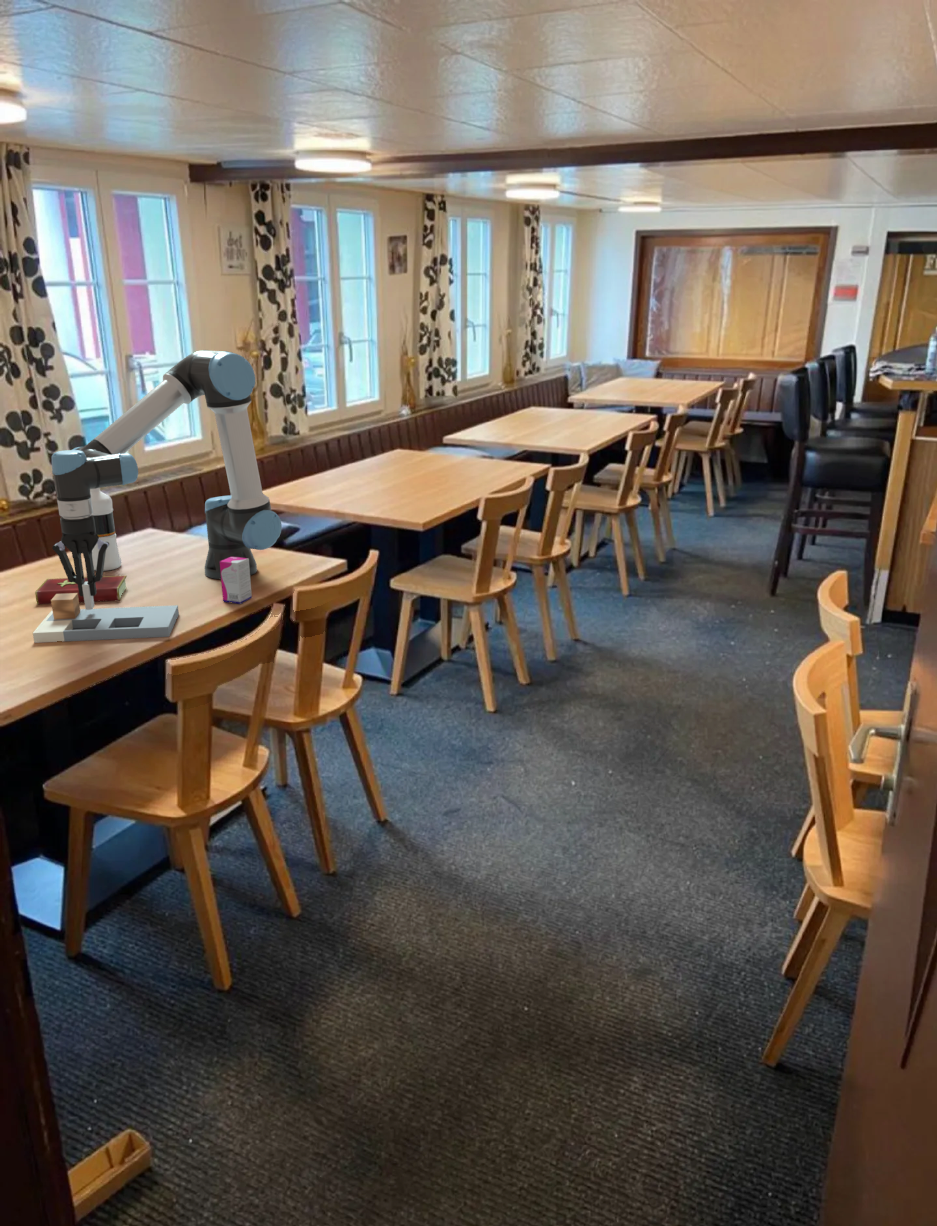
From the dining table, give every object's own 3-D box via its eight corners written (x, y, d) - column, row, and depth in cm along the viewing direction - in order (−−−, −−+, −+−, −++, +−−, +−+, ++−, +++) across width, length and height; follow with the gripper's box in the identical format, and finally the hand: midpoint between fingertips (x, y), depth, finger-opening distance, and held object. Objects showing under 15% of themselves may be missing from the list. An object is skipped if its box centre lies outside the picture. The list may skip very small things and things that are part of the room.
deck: (178, 614, 227) (177, 605, 226) (169, 636, 212) (167, 626, 211) (53, 619, 222) (51, 610, 221) (34, 642, 207) (32, 632, 206)
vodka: (119, 570, 262) (106, 471, 252) (86, 572, 260) (72, 472, 250) (123, 562, 271) (111, 465, 260) (91, 563, 269) (78, 466, 258)
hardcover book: (119, 602, 237) (118, 587, 235) (37, 606, 233) (34, 591, 232) (128, 588, 248) (126, 574, 246) (49, 592, 244) (46, 577, 243)
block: (80, 611, 221) (77, 593, 219) (75, 618, 216) (72, 599, 214) (59, 612, 220) (56, 593, 218) (53, 619, 215) (50, 600, 213)
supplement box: (252, 597, 240) (249, 557, 236) (240, 604, 235) (237, 563, 231) (234, 595, 242) (231, 555, 238) (222, 601, 237) (218, 561, 233)
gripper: (43, 520, 206) (58, 614, 214) (101, 518, 208) (114, 611, 216) (52, 512, 213) (66, 604, 221) (108, 511, 215) (120, 601, 223)
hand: (90, 607), depth 219 cm, fingers closed
